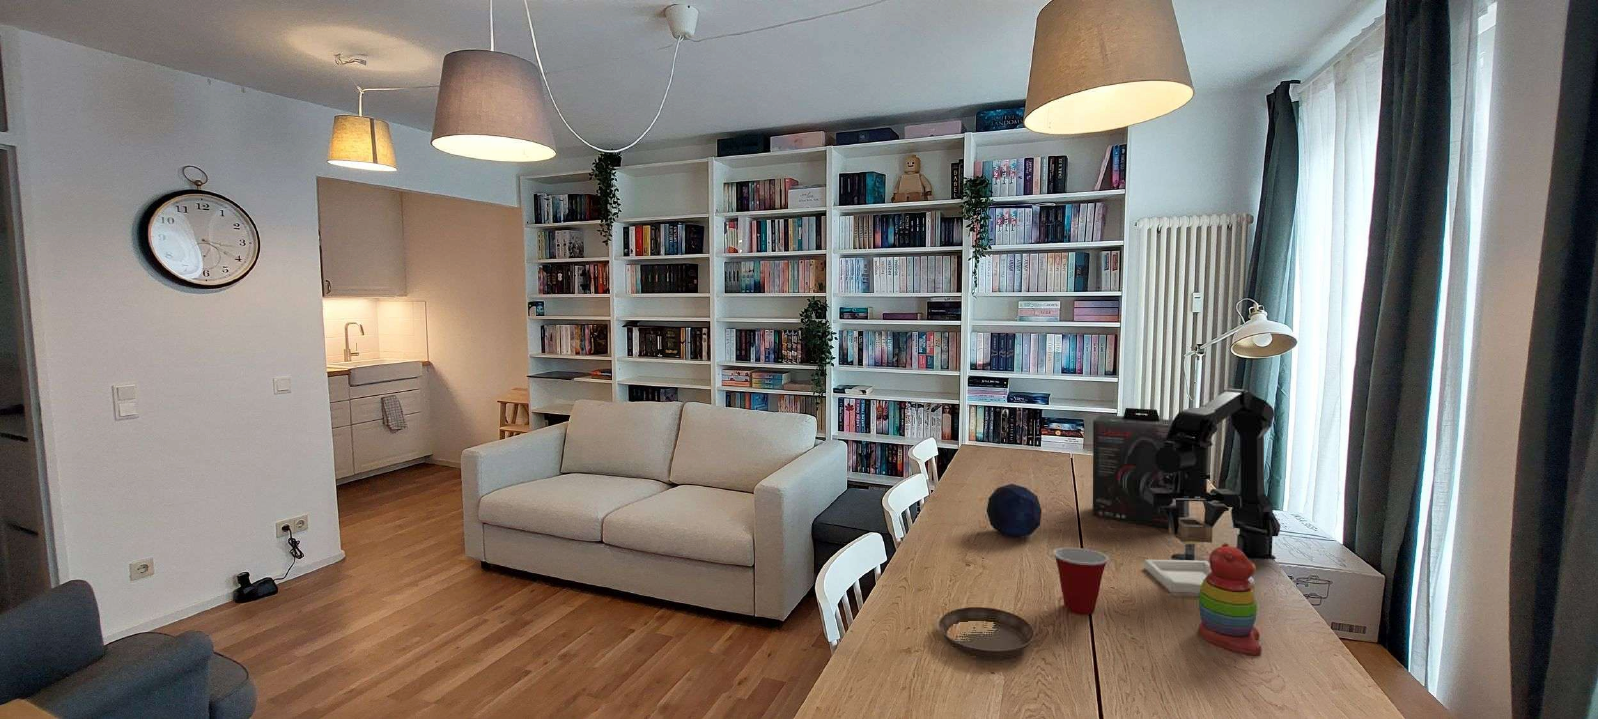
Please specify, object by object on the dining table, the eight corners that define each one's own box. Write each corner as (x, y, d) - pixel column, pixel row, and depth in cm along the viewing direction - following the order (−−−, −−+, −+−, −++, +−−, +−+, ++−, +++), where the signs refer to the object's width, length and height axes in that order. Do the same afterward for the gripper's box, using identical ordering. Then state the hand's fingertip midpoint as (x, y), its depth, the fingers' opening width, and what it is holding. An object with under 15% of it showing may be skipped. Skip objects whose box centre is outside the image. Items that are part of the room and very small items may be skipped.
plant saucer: (931, 620, 136) (931, 605, 136) (1017, 619, 135) (1017, 604, 135) (949, 667, 118) (948, 650, 118) (1048, 666, 118) (1048, 649, 118)
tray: (1206, 570, 158) (1206, 560, 157) (1239, 596, 144) (1239, 585, 144) (1144, 569, 159) (1145, 559, 159) (1171, 594, 145) (1171, 583, 145)
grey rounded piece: (1198, 555, 167) (1199, 536, 167) (1215, 567, 159) (1215, 547, 159) (1165, 554, 168) (1165, 535, 168) (1180, 566, 160) (1180, 547, 160)
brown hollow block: (1212, 542, 147) (1212, 527, 147) (1181, 541, 148) (1182, 526, 148) (1195, 530, 155) (1195, 516, 155) (1166, 530, 156) (1167, 515, 155)
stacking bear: (1262, 658, 119) (1266, 562, 117) (1196, 643, 124) (1199, 551, 123) (1258, 632, 128) (1262, 543, 127) (1197, 620, 133) (1200, 534, 132)
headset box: (1089, 516, 199) (1092, 407, 196) (1099, 506, 209) (1101, 402, 206) (1184, 532, 184) (1187, 414, 181) (1189, 520, 194) (1192, 408, 191)
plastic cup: (1104, 600, 143) (1105, 546, 142) (1110, 623, 133) (1111, 565, 132) (1051, 594, 146) (1051, 541, 145) (1052, 616, 136) (1053, 559, 135)
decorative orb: (1058, 515, 184) (1025, 469, 188) (1046, 530, 171) (1011, 481, 175) (1016, 538, 191) (985, 493, 195) (1002, 555, 178) (969, 506, 182)
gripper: (1217, 459, 157) (1215, 523, 158) (1135, 458, 158) (1133, 521, 160) (1244, 470, 145) (1241, 540, 147) (1155, 469, 147) (1153, 537, 149)
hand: (1190, 534), depth 151 cm, fingers closed on brown hollow block, 6 cm apart
